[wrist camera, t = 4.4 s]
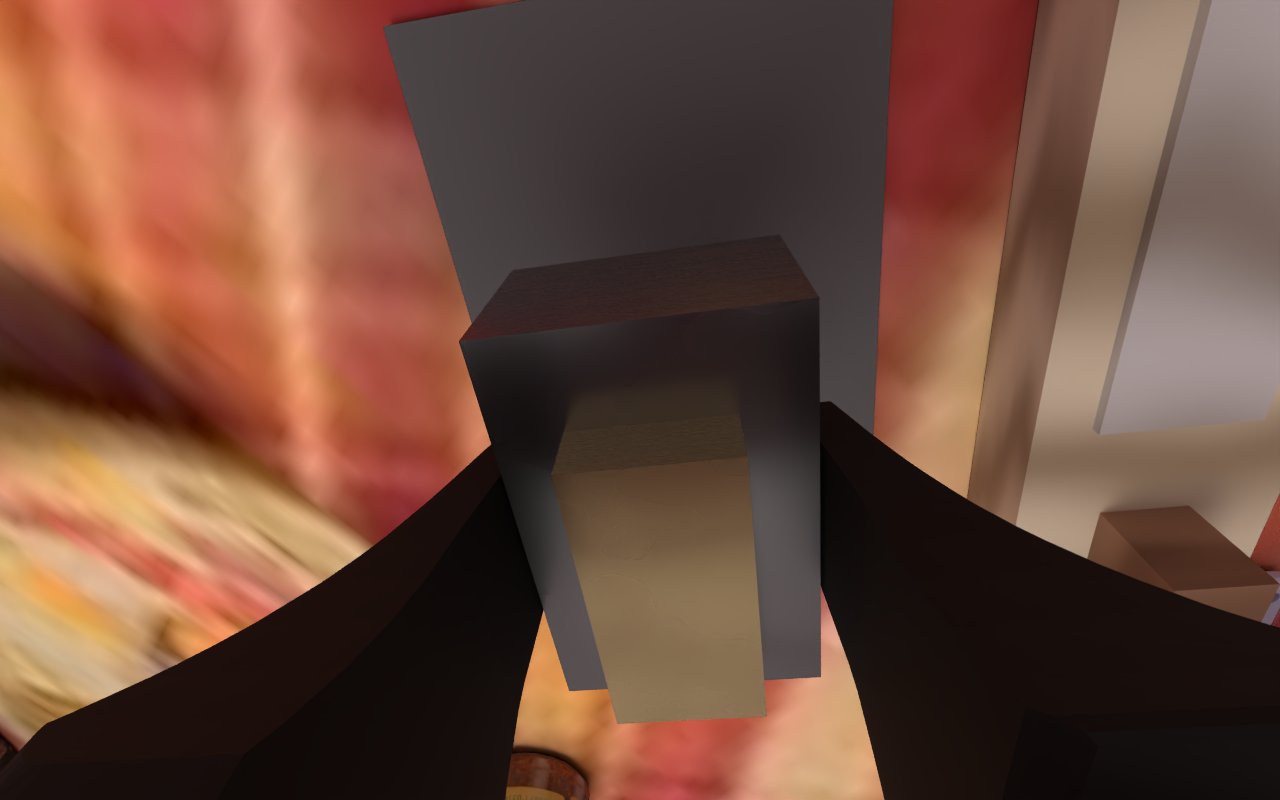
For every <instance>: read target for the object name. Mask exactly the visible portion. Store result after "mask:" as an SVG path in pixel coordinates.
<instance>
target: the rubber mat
mask: <svg viewBox="0 0 1280 800" xmlns="http://www.w3.org/2000/svg"><path fill="white" fill-rule="evenodd" d="M892 18H893V0H525V1H519V2H514V3H508V4H503V5H498V6H492V7H487V8H481V9H476V10H470V11H465V12H459V13H454V14H448V15H443V16H437V17H432V18H426V19H421V20H416V21H410V22H405V23H399V24H394V25H388V26H383V29H384V32H385V35H386V39H387V42H388V45H389V49H390V52H391V55H392V59H393V62H394V65H395V69H396V72H397V75H398V79H399V82H400V85H401V89H402V92H403V95H404V99H405V102H406V105H407V109H408V112H409V115H410V119H411V122H412V125H413V129H414V132H415V135H416V139H417V142H418V145H419V149H420V152H421V155H422V159H423V162H424V165H425V169H426V172H427V175H428V179H429V182H430V185H431V189H432V192H433V195H434V199H435V202H436V205H437V209H438V212H439V215H440V219H441V222H442V225H443V229H444V232H445V235H446V239H447V242H448V245H449V249H450V252H451V255H452V259H453V262H454V265H455V269H456V272H457V275H458V279H459V282H460V285H461V289H462V292H463V295H464V299H465V302H466V305H467V309H468V312H469V315H470V319H471V322H472V323H473V322H474V321H475V319H476V318H477V316H478V315H479V314H480V312H481V311H482V310H483V308H484V307H485V306H486V304H487V303H488V302H489V300H490V299H491V298H492V296H493V295H494V294H495V292H496V291H497V290H498V288H499V287H500V286H501V284H502V283H503V282H504V280H505V279H506V278H507V276H508V275H509V274H510V272H511V271H512V270H517V269H524V268H532V267H539V266H547V265H554V264H562V263H569V262H577V261H584V260H592V259H599V258H607V257H614V256H622V255H629V254H637V253H644V252H651V251H659V250H666V249H674V248H681V247H689V246H696V245H704V244H711V243H719V242H726V241H734V240H741V239H749V238H756V237H764V236H771V235H778V234H780V236H781V237H782V239H783V240H784V242H785V244H786V245H787V247H788V248H789V250H790V251H791V253H792V255H793V256H794V258H795V259H796V261H797V263H798V264H799V266H800V267H801V269H802V270H803V272H804V274H805V275H806V277H807V278H808V280H809V282H810V283H811V285H812V286H813V288H814V289H815V291H816V293H817V294H818V296H819V297H820V402H825V401H831V402H832V403H834V404H835V405H836V406H837V407H839V408H840V409H841V410H842V411H844V412H845V413H846V414H847V415H849V416H850V417H851V418H852V419H854V420H855V421H856V422H857V423H858V424H860V425H861V426H862V427H863V428H865V429H866V430H867V431H868V432H870V433H871V434H872V435H873V426H874V405H875V383H876V362H877V341H878V319H879V298H880V276H881V255H882V233H883V212H884V190H885V169H886V147H887V126H888V104H889V83H890V61H891V40H892Z"/></svg>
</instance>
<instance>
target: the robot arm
mask: <svg viewBox="0 0 1280 800" xmlns="http://www.w3.org/2000/svg"><path fill="white" fill-rule="evenodd" d="M1266 572H1267V573H1268V574H1269V575H1270V576H1272V577H1273V578H1274V579H1275V580H1276V581H1277V582H1279V583H1280V572H1279V571H1266ZM820 574H821V588H822V591H823V593H824V596H825V599H826V602H827V604H828V607H829V610H830V613H831V615H832V618H833V621H834V624H835V626H836V629H837V632H838V635H839V637H840V640H841V643H842V646H843V648H844V651H845V654H846V657H847V660H848V662H849V665H850V668H851V672H852V675H853V678H854V681H855V684H856V688H857V691H858V695H859V699H860V702H861V706H862V710H863V714H864V718H865V722H866V726H867V730H868V734H869V738H870V742H871V746H872V750H873V754H874V758H875V762H876V766H877V770H878V774H879V778H880V782H881V787H882V791H883V795H884V799H885V800H1280V628H1278V627H1275V626H1272V625H1271V624H1272V622H1273V620H1274V618H1275V616H1276V614H1277V612H1278V610H1279V608H1280V586H1279V588H1278V590H1277V592H1276V594H1275V596H1274V598H1273V600H1272V602H1271V604H1270V606H1269V608H1268V610H1267V612H1266V614H1265V616H1264V618H1263V620H1262V622H1259V621H1256V620H1253V619H1249V618H1246V617H1243V616H1240V615H1237V614H1233V613H1230V612H1227V611H1224V610H1221V609H1218V608H1215V607H1212V606H1209V605H1206V604H1203V603H1200V602H1197V601H1195V600H1192V599H1189V598H1187V597H1184V596H1181V595H1178V594H1176V593H1173V592H1170V591H1167V590H1165V589H1162V588H1159V587H1157V586H1154V585H1151V584H1148V583H1146V582H1143V581H1140V580H1138V579H1135V578H1133V577H1130V576H1128V575H1125V574H1123V573H1120V572H1118V571H1115V570H1113V569H1110V568H1108V567H1105V566H1103V565H1100V564H1098V563H1095V562H1093V561H1091V560H1089V559H1086V558H1084V557H1082V556H1080V555H1077V554H1075V553H1073V552H1071V551H1068V550H1066V549H1064V548H1062V547H1059V546H1057V545H1055V544H1053V543H1050V542H1048V541H1046V540H1044V539H1042V538H1040V537H1038V536H1036V535H1034V534H1031V533H1029V532H1027V531H1025V530H1023V529H1021V528H1019V527H1017V526H1015V525H1013V524H1012V523H1010V522H1008V521H1006V520H1004V519H1002V518H1000V517H999V516H997V515H995V514H993V513H991V512H989V511H987V510H985V509H984V508H982V507H980V506H978V505H976V504H974V503H973V502H971V501H969V500H968V499H966V498H964V497H962V496H961V495H959V494H957V493H956V492H954V491H953V490H951V489H949V488H948V487H946V486H945V485H943V484H942V483H940V482H939V481H937V480H935V479H934V478H932V477H931V476H929V475H928V474H926V473H925V472H923V471H922V470H920V469H919V468H917V467H916V466H914V465H913V464H911V463H910V462H909V461H907V460H906V459H904V458H903V457H902V456H900V455H899V454H897V453H896V452H895V451H893V450H892V449H891V448H889V447H888V446H887V445H885V444H884V443H883V442H881V441H880V440H879V439H877V438H876V437H875V436H873V435H872V434H871V433H870V432H868V431H867V430H866V429H865V428H863V427H862V426H861V425H860V424H858V423H857V422H856V421H855V420H854V419H852V418H851V417H850V416H849V415H847V414H846V413H845V412H844V411H842V410H841V409H840V408H839V407H837V406H836V405H835V404H834V403H832V402H831V401H825V402H820ZM543 610H544V609H543V606H542V603H541V600H540V596H539V593H538V590H537V587H536V584H535V581H534V577H533V574H532V571H531V568H530V565H529V562H528V558H527V555H526V552H525V549H524V546H523V543H522V539H521V536H520V533H519V530H518V527H517V524H516V520H515V517H514V514H513V511H512V508H511V505H510V501H509V498H508V495H507V492H506V489H505V486H504V482H503V479H502V476H501V473H500V470H499V467H498V463H497V460H496V457H495V454H494V451H493V448H492V444H491V445H490V446H489V447H488V448H487V449H485V450H484V451H483V452H482V453H481V454H480V455H479V456H478V457H477V458H476V459H474V460H473V461H472V462H471V463H470V464H469V465H468V466H467V467H466V468H465V469H464V470H463V471H461V472H460V473H459V474H458V475H457V476H456V477H455V478H454V479H453V480H451V481H450V482H449V483H448V484H447V485H446V486H445V487H444V488H443V489H442V490H440V491H439V492H438V493H437V494H436V495H435V496H434V497H433V498H432V499H430V500H429V501H428V502H427V503H426V504H424V505H423V506H422V507H421V508H420V509H418V510H417V511H416V512H415V513H414V514H412V515H411V516H410V517H409V518H408V519H406V520H405V521H404V522H403V523H402V524H400V525H399V526H398V527H397V528H396V529H394V530H393V531H392V532H391V533H389V534H388V535H387V536H386V537H385V538H383V539H382V540H381V541H379V542H378V543H377V544H375V545H374V546H373V547H371V548H370V549H369V550H367V551H366V552H365V553H363V554H362V555H361V556H359V557H358V558H356V559H355V560H354V561H352V562H351V563H349V564H348V565H346V566H345V567H343V568H342V569H341V570H339V571H338V572H336V573H335V574H333V575H332V576H331V577H329V578H328V579H326V580H324V581H323V582H321V583H320V584H318V585H317V586H315V587H314V588H312V589H310V590H309V591H307V592H305V593H304V594H302V595H300V596H299V597H297V598H295V599H294V600H292V601H291V602H289V603H287V604H286V605H284V606H282V607H281V608H279V609H277V610H276V611H274V612H272V613H271V614H269V615H268V616H266V617H264V618H263V619H261V620H259V621H258V622H256V623H254V624H252V625H251V626H249V627H247V628H245V629H243V630H241V631H240V632H238V633H236V634H234V635H232V636H230V637H229V638H227V639H225V640H223V641H221V642H219V643H218V644H216V645H214V646H212V647H210V648H208V649H206V650H204V651H202V652H200V653H198V654H196V655H194V656H192V657H190V658H188V659H186V660H184V661H182V662H181V663H179V664H177V665H175V666H172V667H170V668H168V669H166V670H164V671H162V672H160V673H158V674H156V675H154V676H152V677H150V678H148V679H145V680H143V681H141V682H139V683H137V684H134V685H132V686H130V687H128V688H125V689H123V690H121V691H119V692H117V693H114V694H112V695H110V696H108V697H106V698H103V699H101V700H99V701H97V702H95V703H92V704H90V705H88V706H86V707H84V708H81V709H79V710H77V711H75V712H72V713H70V714H68V715H66V716H63V717H61V718H58V719H56V720H54V721H51V722H49V723H47V724H45V725H44V726H43V727H42V728H41V729H40V730H39V731H38V732H37V733H36V734H35V735H34V736H33V737H32V738H31V739H30V740H29V741H28V742H27V744H26V745H25V746H24V747H23V748H22V749H21V750H20V751H19V752H18V753H17V754H16V756H15V757H14V758H13V759H12V760H11V761H10V762H9V763H8V764H7V765H6V766H5V767H4V768H3V770H2V771H1V772H0V800H505V798H506V790H507V783H508V775H509V768H510V762H511V755H512V749H513V742H514V736H515V729H516V723H517V716H518V710H519V705H520V701H521V696H522V691H523V687H524V682H525V678H526V675H527V671H528V667H529V663H530V659H531V655H532V652H533V648H534V644H535V640H536V636H537V633H538V629H539V625H540V621H541V617H542V614H543Z"/></svg>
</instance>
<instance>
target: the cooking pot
mask: <svg viewBox="0 0 1280 800" xmlns="http://www.w3.org/2000/svg"><path fill="white" fill-rule="evenodd" d="M16 754H17V752H16V751H15V750H14V749H13V747H12V746H11V745H10V744H9V743H8V742H7V741H6V740H5V739H4V738H3V737H1V736H0V772H1V771H2V770H3V768H4V767H5V766H6V765H7V764H8V763H9V762H10V761H11V760H12V759H13V758H14V757H15V756H16Z"/></svg>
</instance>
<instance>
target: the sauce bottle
mask: <svg viewBox="0 0 1280 800" xmlns="http://www.w3.org/2000/svg"><path fill="white" fill-rule="evenodd" d="M589 796H590V794H589V788H588V784H587V783H586V782H585V780H584V778H583V777H582V776H581V775H580V774H579V773H578V772H577V771H576V770H575V769H574V768H573V767H572V766H570V765H569V764H567V763H566V762H565V761H561V760H559V759H556V758H554V757H552V756H546V755H542V754H537V753H525V752H523V753H515V754H512V755H511V762H510V768H509V775H508V783H507V790H506V798H505V800H589Z"/></svg>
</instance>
